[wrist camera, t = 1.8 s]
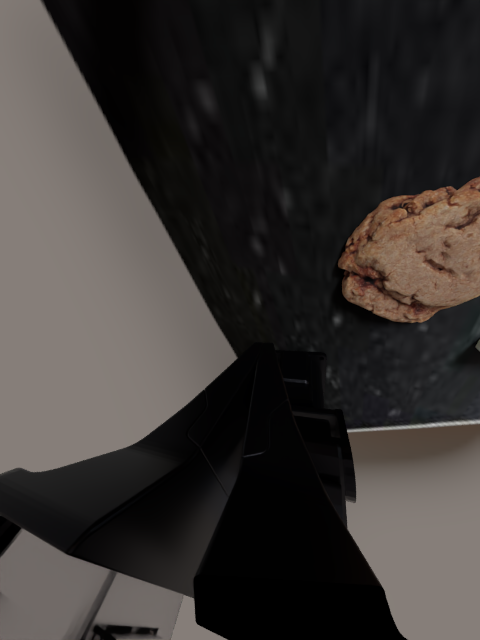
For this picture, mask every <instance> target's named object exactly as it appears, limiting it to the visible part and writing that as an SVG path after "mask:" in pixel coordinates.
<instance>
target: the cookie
mask: <svg viewBox="0 0 480 640" xmlns="http://www.w3.org/2000/svg"><path fill="white" fill-rule="evenodd" d="M345 246H346V249H345V252H343V253H342V256H341V258H340V259H339V260H338V266H339V267H340V268H341V269H345V272H344V274H343V275H345V277H344V278H343V281H342V293H343V295H344V297H345V298H346V299H347V300H348V301H349V302H351V303H353V304H356V305H359V306H361V307H363V308H365V309H367V310H369V311H372V312H373V313H374V314H376V315H378V316H381V317H384V318H387V319H389V320H391V321H395V322H410V323H414V322H423V321H426V320H428V319H429V318H430V317H432V316H433V315H434V314H435V313H436V312H437V311H439V310H441V309H445V308H449V307H452V306H456V305H458V304H461V303H463V302H466V301H468V300H471V299H473V298H475V297H478V296H479V295H480V178H475V179H472V180H470V181H469V182H468V183H466V184H465V185H464V186H462V187H461V188H460V189H458V190H455V189H454V188H453V187H451V186H450V187H445V188H440V189H438V190H435V191H431V190H428V191H424V192H423V193H422V194H418V195H415V196H403V195H402V196H397V197H393V198H390V199H387V200H385V201H383V202H381V203H380V204H379V206H378V207H377V208H376V209H375V210H374V211H372V212H371V213H370V214H368V215H367V217H366V218H365V219H364V220H363V221H362V223H361V224H360V225H359V226H358V227H357V228H356V229H355V230H354V232H353V234H352V235H351V236H350V237H349V238H348V240H347V244H346V245H345Z"/></svg>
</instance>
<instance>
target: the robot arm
mask: <svg viewBox="0 0 480 640" xmlns="http://www.w3.org/2000/svg"><path fill="white" fill-rule="evenodd" d="M321 357H322V358H321ZM326 360H327V358H326V354H325V353H321V352H299V351H277V350H275V348H274V344H273V343H262V342H255V343H254V344H253V345H252V346H251V347H249V348H248V349H247V350H246V351H245V352H244V353H243V354H242V355H241V356H240V357H239V358H238V359H236V360H235V361H234V362H233V363H232V364H231V365H230V366H229V367H228V368H227V369H226V370H224V372H222V373H221V374H220V375H219V376H218V377H217V378H216V379H215V380H214V381H213V382H211V383H210V384H209V385H208V386H207V387H206V388H205V390H203V391H202V392H200V393H199V394H198V395H197V396H196V397H195V398H194V399H193V400H192V401H190V402H189V403H188V404H187V405H186V406H184V408H182V409H181V410H180V411H178V412H177V413H176V414H174V415H173V416H172V417H171V418H169V419H168V420H167V421H166V422H164V423H163V424H162V425H160V426H159V427H158V428H156V429H155V430H154V431H152V432H151V433H150V434H149V435H147V436H146V437H144V438H143V439H142V440H140V441H138V442H137V443H135V444H133V445H131V446H129V447H126V448H123V449H120V450H117V451H113V452H110V453H107V454H103V455H100V456H97V457H93V458H91V459H87V460H83V461H80V462H77V463H74V464H70V465H67V466H64V467H60V468H57V469H53V470H49V471H44V472H30V471H27V470H25V469H22V468H15V469H13V470H10V471H7V472H4V473H2V474H0V640H170V639H171V636H172V633H173V629H174V626H175V622H176V619H177V616H178V612H179V609H180V606H181V603H182V599H183V596H184V595H186V596H189V597H192V598H194V601H195V618H196V623H197V624H198V625H200V626H202V627H204V628H206V629H208V630H210V631H212V632H214V633H216V634H218V635H220V636H222V637H224V638H226V639H228V640H407V639H406V638H404V637H403V636H402V635H401V634H400V632H399V631H398V629H397V627H396V625H395V622H394V620H393V617H392V615H391V612H390V608H389V605H388V602H387V599H386V595H385V591H384V589H383V587H382V585H381V584H380V582H379V581H378V579H377V577H376V576H375V574H374V572H373V571H372V569H371V567H370V566H369V564H368V562H367V561H366V559H365V557H364V556H363V554H362V553H361V551H360V549H359V547H358V546H357V544H356V542H355V541H354V539H353V537H352V536H351V534H350V533H349V531H348V529H347V516H346V501H349V502H353V503H355V502H356V482H355V472H354V464H353V458H352V452H351V447H350V442H349V439H348V434H347V429H346V425H345V420H344V416H343V412H342V410H341V409H335V410H331V409H324V398H323V393H324V392H325V377H326ZM345 500H346V501H345Z"/></svg>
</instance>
